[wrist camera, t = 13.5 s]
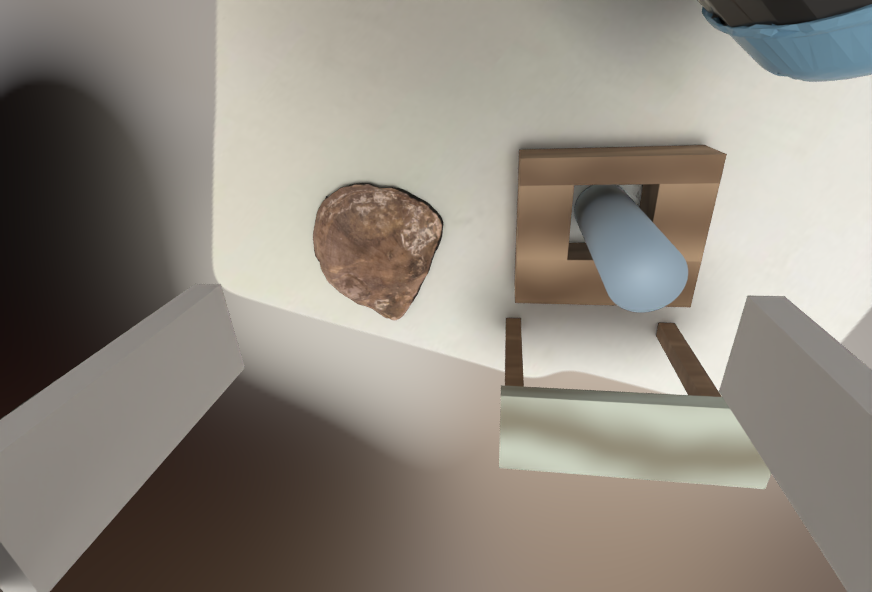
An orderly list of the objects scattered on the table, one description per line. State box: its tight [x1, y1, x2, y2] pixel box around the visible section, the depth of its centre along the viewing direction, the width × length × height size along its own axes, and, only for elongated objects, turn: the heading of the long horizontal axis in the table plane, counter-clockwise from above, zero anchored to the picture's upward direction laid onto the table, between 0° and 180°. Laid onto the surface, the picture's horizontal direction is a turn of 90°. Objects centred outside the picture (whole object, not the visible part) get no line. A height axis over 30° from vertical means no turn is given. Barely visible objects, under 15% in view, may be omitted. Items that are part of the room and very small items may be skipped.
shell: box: [313, 183, 443, 320], centre depth 41 cm, size 12×13×4 cm
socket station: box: [499, 145, 771, 489], centre depth 32 cm, size 18×16×17 cm
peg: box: [574, 185, 688, 312], centre depth 32 cm, size 4×4×14 cm
